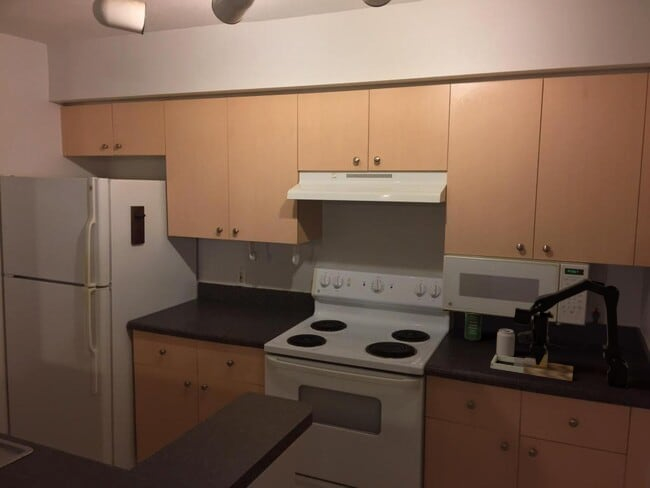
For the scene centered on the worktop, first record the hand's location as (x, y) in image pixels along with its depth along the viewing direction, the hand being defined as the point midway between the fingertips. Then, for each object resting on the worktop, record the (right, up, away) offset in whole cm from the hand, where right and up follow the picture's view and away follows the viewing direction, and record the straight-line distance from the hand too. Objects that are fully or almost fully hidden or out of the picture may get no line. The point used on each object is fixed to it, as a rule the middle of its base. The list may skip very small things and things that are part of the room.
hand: (538, 363), depth 216 cm
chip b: (-7, -3, +3) cm, 8 cm away
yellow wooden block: (+1, -2, 0) cm, 3 cm away
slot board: (+4, -4, -1) cm, 6 cm away
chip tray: (-10, -3, +6) cm, 12 cm away
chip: (-3, -3, +2) cm, 4 cm away
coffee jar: (-14, +2, +45) cm, 48 cm away
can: (-7, -1, +21) cm, 22 cm away
